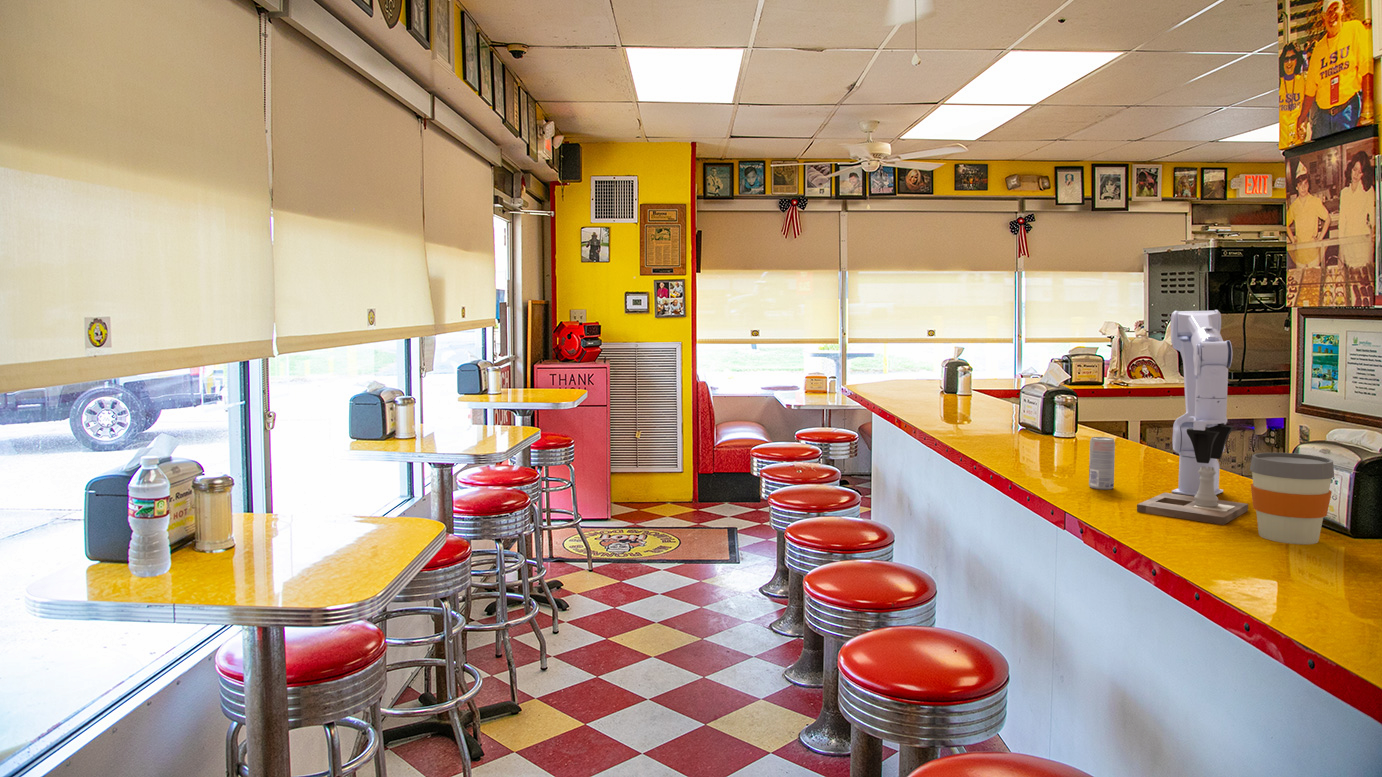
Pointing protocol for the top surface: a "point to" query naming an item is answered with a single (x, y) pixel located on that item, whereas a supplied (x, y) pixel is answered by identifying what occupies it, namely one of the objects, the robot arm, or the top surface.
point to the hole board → (1192, 508)
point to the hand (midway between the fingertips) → (1208, 460)
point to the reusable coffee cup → (1291, 495)
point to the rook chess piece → (1206, 488)
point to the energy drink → (1101, 463)
